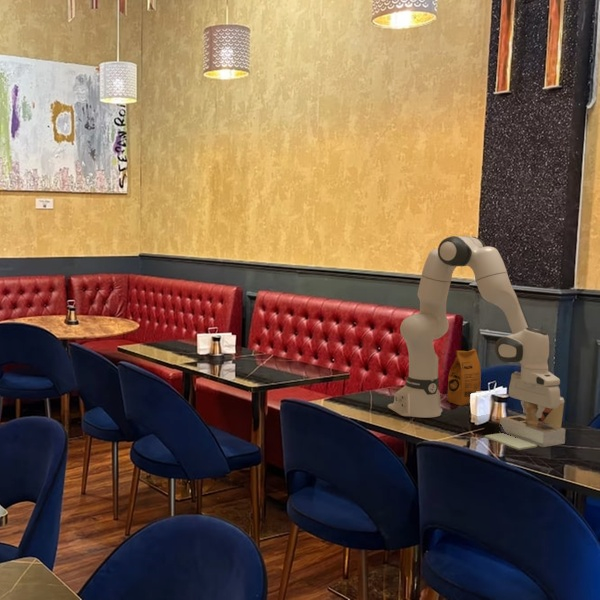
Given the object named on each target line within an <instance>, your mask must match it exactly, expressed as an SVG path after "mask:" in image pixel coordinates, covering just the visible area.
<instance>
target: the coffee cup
mask: <svg viewBox="0 0 600 600" xmlns="http://www.w3.org/2000/svg"><path fill="white" fill-rule="evenodd" d="M564 405H565V399H564V397H563V396H560V404H559V406H558V407H557V408H553V409H550V408H546V407H545V409H544V411H543V412H542V417H541V418H538V420H539V421H542V422H545V423H548V424H551V425H555V426H558V427H561V428H562V421H563V415H564V414H563V413H564Z"/></svg>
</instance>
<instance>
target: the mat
mask: <svg viewBox="0 0 600 600" xmlns="http://www.w3.org/2000/svg"><path fill="white" fill-rule="evenodd" d="M484 438H485V439H488V440H491V441H494V442H496V443H499V444H502V445H504V446H506V447H507V446H508V447H509V448H512V449H514V450H518V451H522V450H527V449H528V450H529V449H533V448H537V447H538V445H535V444H532V443H529V442H527V441H524V440H521V439H518V438H515V437H513V436H510V435H507V434H504V433H501V432H499V433H493V434H492V433H491V434H485V435H484Z"/></svg>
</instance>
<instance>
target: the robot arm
mask: <svg viewBox="0 0 600 600" xmlns="http://www.w3.org/2000/svg"><path fill="white" fill-rule="evenodd" d="M458 267H461V268H462V267H469V268H470V269H471V270H472V271H473V274H474V278H475V282H476V285H477V289H478V291H479V293H480V296H481V298H482V299H483V300H485V301H487V302H488V303H490V304H492V305H495V306H496V307H498V308H499V309H500V310H502V311H503V313H504V315H505V317H506V320H507V323H508V325H509V328H510V331H511V333H512V334H509V335H504V336H501V337H500V338H499V339H497V341H496V343H495V346H494V353H495V355H496V357H497V359H498V360H499V361H500V362H502V363H506V364H514V363H520V372H519V371H517V370H516V371H514V372H512V373H511V376H510V377H511V378H510V381H509V387H508V395H509V397H510V398H513V399H516V400H519V401H520V405H521V407H522V409H523V411H522V413H523V414H524V415H526V408H527V402H529V403H533V404H536V405H538V407H537V408H539V409H538V411H537V412H535V417H536V418H541V417H542V412H543V411H544V409H545V407H546V408H550V409H553V408H557V407H558V406H559V404H560V397H561V389H560V386H559V385H560V384H561V380H560V378H559V377H557V376H556V375H555V374H553V373H552V372H550V371H549V364H548V359H549V357H550V338H549V335H548V333H547V331H545V330H544V329H542V328H538V327H534V326H533V327H531V326H530V325H529V321H528V320H527V317H526V315H525V312H524V309H523V306H522V304H521V302H520V299H519V297H518V296H517V293H516V292H515V290H514V288H513V286H512V283H511V281H510V278H509V275H508V271H507V268H506V265H505V263H504V260H503V258H502V256H501V254H500V251H499V250H498V249H497V248H496V247H493V246H489V245H488V246H487V245H486V243H485V242H484V241H483V240H482V239H480V238H479V237H476V236H471V235H469V236H468V235H459V236H458V235H457V236H455V235H454V236H451V235H450V236H448V237H446V238H443V240H441V241H440V243H439V245H438V247H437V248H435V249H432V250H430V252H429V253H428V255H427V257H426V259H425V262H424V266H423V269H422V272H421V277H420V279H419V280H420V281H419V285H418V288H417V298H418V299H419V312H418V313H413V314H411V315H409V316H407V317H406V318H404V319H403V320H402V322H401V324H400V328H399V331H400V336H401V337H402V338H403V339H404V341H405V343H406V344H405V345H406V348H407V353H408V359H409V360H408V376H405V377H404V379H403V380H404V381H405V385H403V387H401V388H400V389H398V390H397V391H396V392H395V393H394V396H393V397H394V398H393V403H389V404H387V408H388V409H390V410H391V411H394V412H396V414H398V415H400V416H403V417H411V418H412V417H413V418H437V417H440V416H441V415H442V412H443V408H442V407H441V406H442V405H441V393H440V390H439V387H440V378H439V356H438V354H436V351H435V347H434V340H439V339H440V338H441V337H443V336H444V335H445V334H446V333H448V331H449V327H450V324H449V320H448V318H447V299H448V296H449V292H450V291H449V290H450V287H451V283H452V278H453V275H454V274H453V273H454V271H455V269H456V268H458Z"/></svg>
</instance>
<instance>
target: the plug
mask: <svg viewBox="0 0 600 600" xmlns="http://www.w3.org/2000/svg"><path fill="white" fill-rule="evenodd" d="M537 407H538V405H536V404H533V403H529V402H527V408H526V414H525V416H526V424H528V425H531V426H533V425H538V418H536V417H535V412H537V411H538V409H539V408H537Z"/></svg>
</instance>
